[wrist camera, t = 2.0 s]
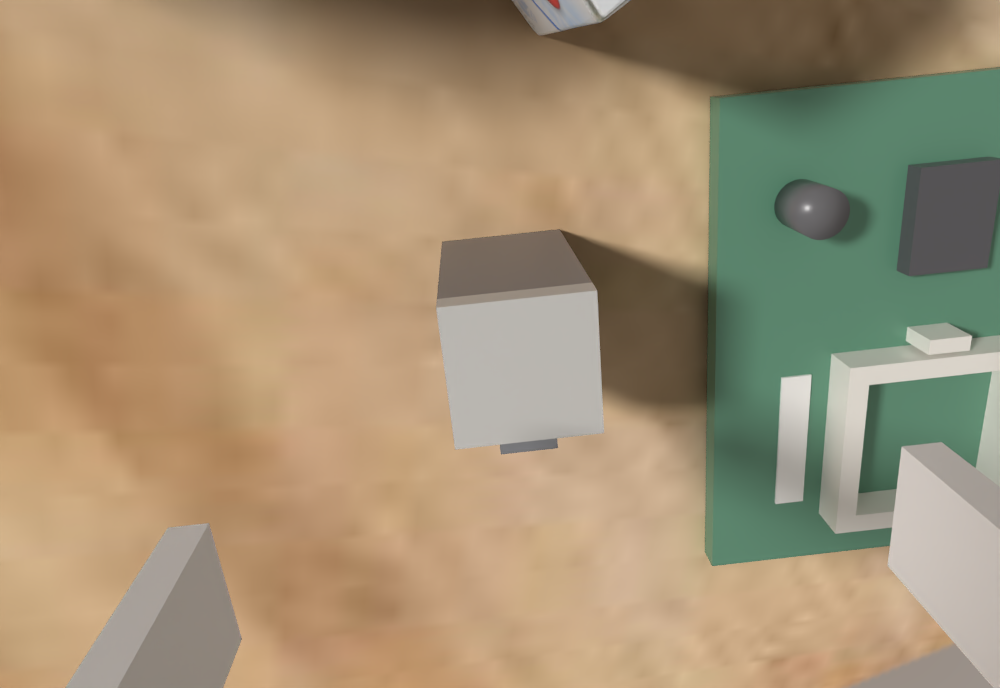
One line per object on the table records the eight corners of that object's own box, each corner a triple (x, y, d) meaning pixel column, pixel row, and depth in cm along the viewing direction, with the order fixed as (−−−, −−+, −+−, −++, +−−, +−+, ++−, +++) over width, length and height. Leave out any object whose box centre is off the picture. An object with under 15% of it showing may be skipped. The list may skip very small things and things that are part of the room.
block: (442, 241, 27) (436, 307, 20) (559, 229, 28) (597, 290, 20) (458, 369, 29) (458, 472, 22) (567, 357, 29) (604, 456, 22)
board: (710, 97, 26) (740, 100, 23) (1063, 60, 26) (1136, 59, 23) (704, 551, 33) (727, 596, 31) (981, 520, 34) (1029, 561, 31)
